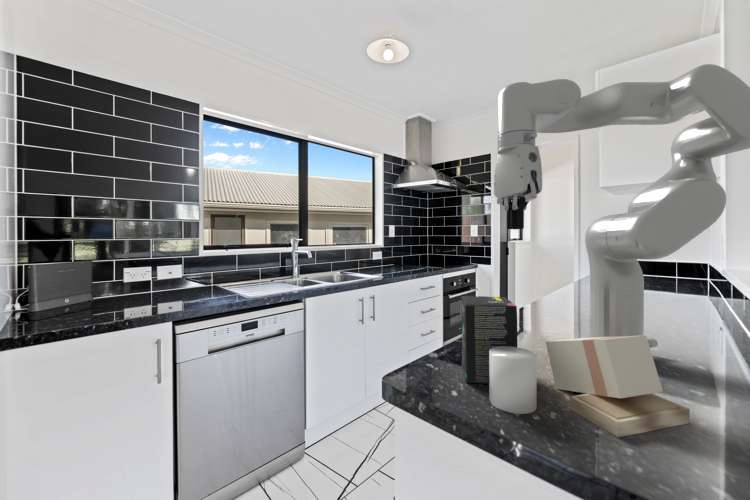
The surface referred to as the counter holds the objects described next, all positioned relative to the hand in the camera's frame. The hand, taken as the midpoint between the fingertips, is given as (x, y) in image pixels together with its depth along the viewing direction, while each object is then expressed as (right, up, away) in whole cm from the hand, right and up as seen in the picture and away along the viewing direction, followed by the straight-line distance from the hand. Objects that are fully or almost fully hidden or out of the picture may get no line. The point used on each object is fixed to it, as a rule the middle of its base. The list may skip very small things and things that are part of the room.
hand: (515, 228), depth 70 cm
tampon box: (-9, -29, -7) cm, 31 cm away
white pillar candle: (-8, -29, -18) cm, 36 cm away
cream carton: (+5, -25, -12) cm, 28 cm away
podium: (+7, -29, -23) cm, 38 cm away
